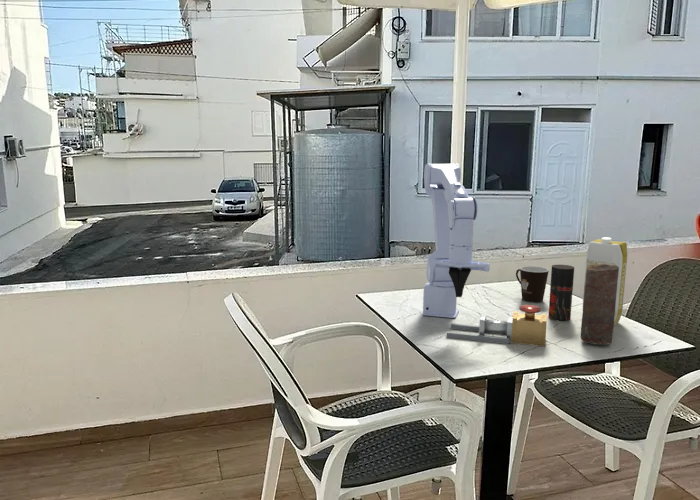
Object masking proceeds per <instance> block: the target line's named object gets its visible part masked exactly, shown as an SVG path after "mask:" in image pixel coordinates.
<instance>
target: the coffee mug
mask: <svg viewBox="0 0 700 500" xmlns="http://www.w3.org/2000/svg"><path fill="white" fill-rule="evenodd" d="M519 273H520V275H519ZM549 273H550V270H549V269H548V268H546V267H543V266H533V265H530V266H529V265H528V266H527V265H526V266H522V267H519V268H518V269H517V270H516V273H515V276H516V280H517V281H518V283H519V284H520V290H521V291H520V292H521V300H522V301H523V302H527V303H532V304H533V303H534V304H535V303H536V304H537V303H542V302H544V297H545V291H546V287H547V281H548V276H549ZM519 276H520V277H519Z"/></svg>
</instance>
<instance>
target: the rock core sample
mask: <svg viewBox="0 0 700 500" xmlns="http://www.w3.org/2000/svg"><path fill="white" fill-rule="evenodd" d="M618 272H619V267H618V266H617V265H607V264H602V265H598V264H590V265H589V266H588V267H587V272H586V282H585V281H584V283H585V293H584V292H583V296H584V304H583V303H582V313H581V315H582V316H581V325H580V326H581V327H580V339H581V341H583V342H584V343H587V344H592V345H599V346H600V345H612V343H613V337H614V336H613V335H614V327H615V325H614V315H615V304H616V293H617V282H618Z"/></svg>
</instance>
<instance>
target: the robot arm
mask: <svg viewBox="0 0 700 500" xmlns="http://www.w3.org/2000/svg"><path fill="white" fill-rule="evenodd" d="M461 171H462V170H461V165H460V164H459V163H458V162H455V163H429V162H428V163H426V164H425V166H424V169H423V180H424V181H423V182H424V190H425V191H424V192H425V194H426V195H427V196H429V197H430V200H431V202H432V213H433V214H432V215H433V216H432V217H433V228H434V243H435V250H434V251H433V252H432V253H431V254H430V255H428V256H427V260H426V270H425V271H426V279H427V282H425V284H424V288H423V298H422V299H423V301H422V302H423V303H422V315H423V316H429V317H440V318H450V319H457V316H458V314H459V311H460V310H459V308H457V298H463V294H464V293H463V292H464V289H465V285H466V282H467V281H468V278H469V276H470V274H471V271H480V272H487V273H488V272H489V271H490V265H491V264H490V262H485V261H477V260H473V244H474V243H473V241H474V240H473V238H474V221H476V220H477V217H478V203H477V200H476V197H475V196H469V194H468V192H467V189H466V188H465V186H464V185H463V184H461V183H460V181H461V179H462V178H461V177H462V176H461V175H462V172H461Z"/></svg>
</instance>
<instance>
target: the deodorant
mask: <svg viewBox="0 0 700 500" xmlns="http://www.w3.org/2000/svg"><path fill="white" fill-rule="evenodd" d="M550 273H551V274H550V275H551V276H550V288H549V289H550V290H549V302H548V304H549V305H548V316H547V317H548V319H549V320H551V321H555V322H570V321H571V316H572V306H573V305H572V304H573V303H572V302H573V291H574V279H575V266H573V265H569V264H552V265H551V271H550Z"/></svg>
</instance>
